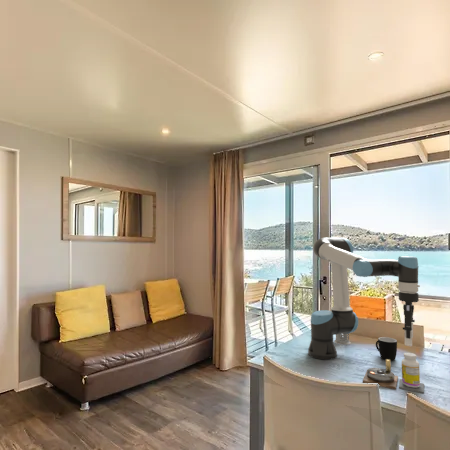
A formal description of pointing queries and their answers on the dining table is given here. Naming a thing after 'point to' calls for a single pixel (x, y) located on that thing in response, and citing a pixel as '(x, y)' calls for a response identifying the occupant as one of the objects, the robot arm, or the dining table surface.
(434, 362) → the dining table surface
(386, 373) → the dark disc with post
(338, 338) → the french press
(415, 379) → the supplement bottle
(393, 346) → the mug
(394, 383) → the base
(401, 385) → the pad
